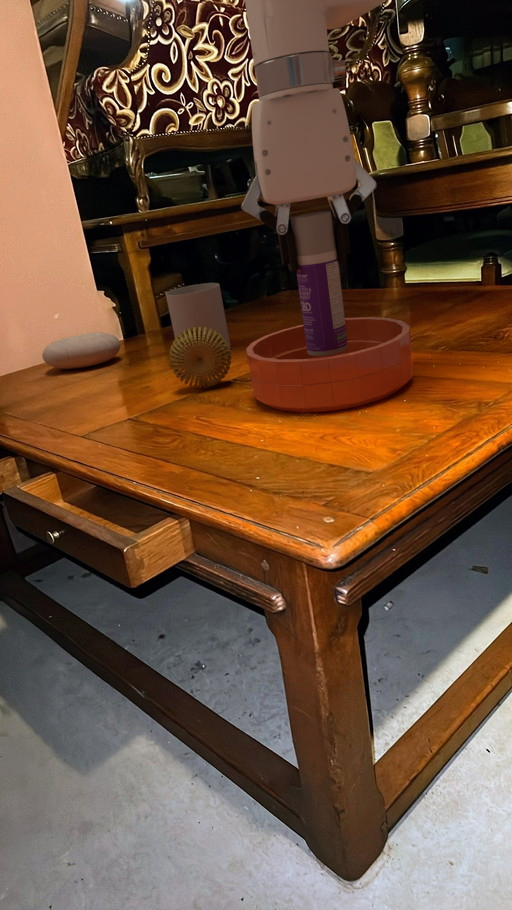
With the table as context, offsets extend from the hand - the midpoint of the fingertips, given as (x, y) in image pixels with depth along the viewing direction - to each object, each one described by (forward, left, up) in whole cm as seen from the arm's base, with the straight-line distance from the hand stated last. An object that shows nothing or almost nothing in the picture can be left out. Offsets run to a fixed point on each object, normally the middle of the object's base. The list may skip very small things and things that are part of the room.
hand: (316, 264), depth 76 cm
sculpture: (+15, -10, -14) cm, 23 cm away
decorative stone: (+35, -36, -14) cm, 52 cm away
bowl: (0, 0, -14) cm, 14 cm away
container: (0, 0, -10) cm, 10 cm away
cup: (+15, -30, -14) cm, 36 cm away
